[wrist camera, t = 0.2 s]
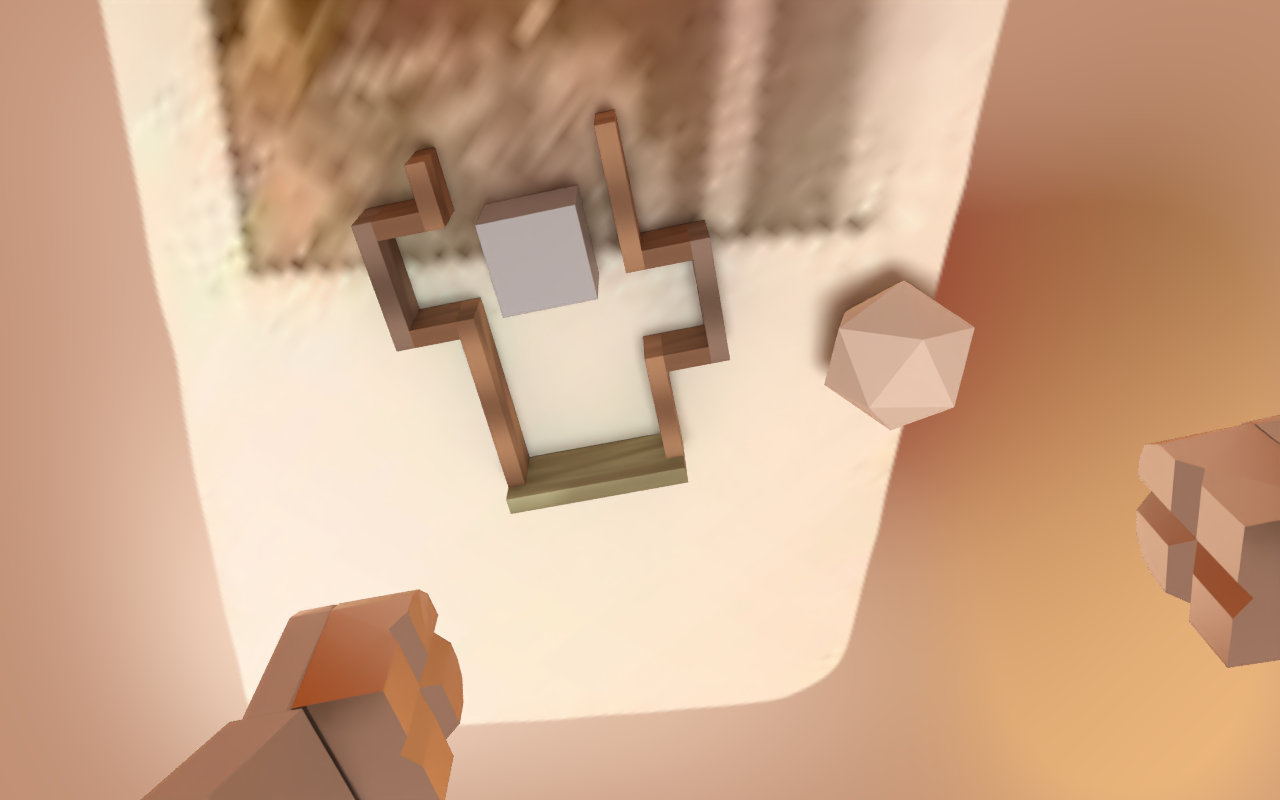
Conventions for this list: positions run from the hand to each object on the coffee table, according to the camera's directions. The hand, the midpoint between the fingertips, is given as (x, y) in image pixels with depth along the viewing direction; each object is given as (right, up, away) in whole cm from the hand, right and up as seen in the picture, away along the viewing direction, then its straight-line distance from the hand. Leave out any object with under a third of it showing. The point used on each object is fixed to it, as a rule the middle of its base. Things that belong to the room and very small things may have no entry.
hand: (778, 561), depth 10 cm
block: (-8, +12, +47) cm, 49 cm away
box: (-7, +8, +49) cm, 50 cm away
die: (+15, +7, +51) cm, 53 cm away
